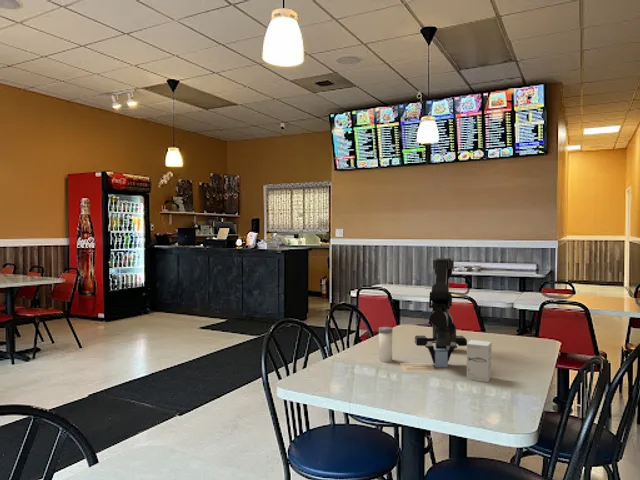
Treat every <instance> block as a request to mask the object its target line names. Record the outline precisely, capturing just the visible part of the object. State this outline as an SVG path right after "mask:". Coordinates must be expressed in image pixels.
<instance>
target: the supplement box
mask: <svg viewBox="0 0 640 480" xmlns="http://www.w3.org/2000/svg"><path fill="white" fill-rule="evenodd" d="M492 344H493V343H492V341H486V340H475V339H469V341H467V346H466V380H469V381H476V382H477V381H478V382H485V383H489V382H490V380H491V378H492Z"/></svg>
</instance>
